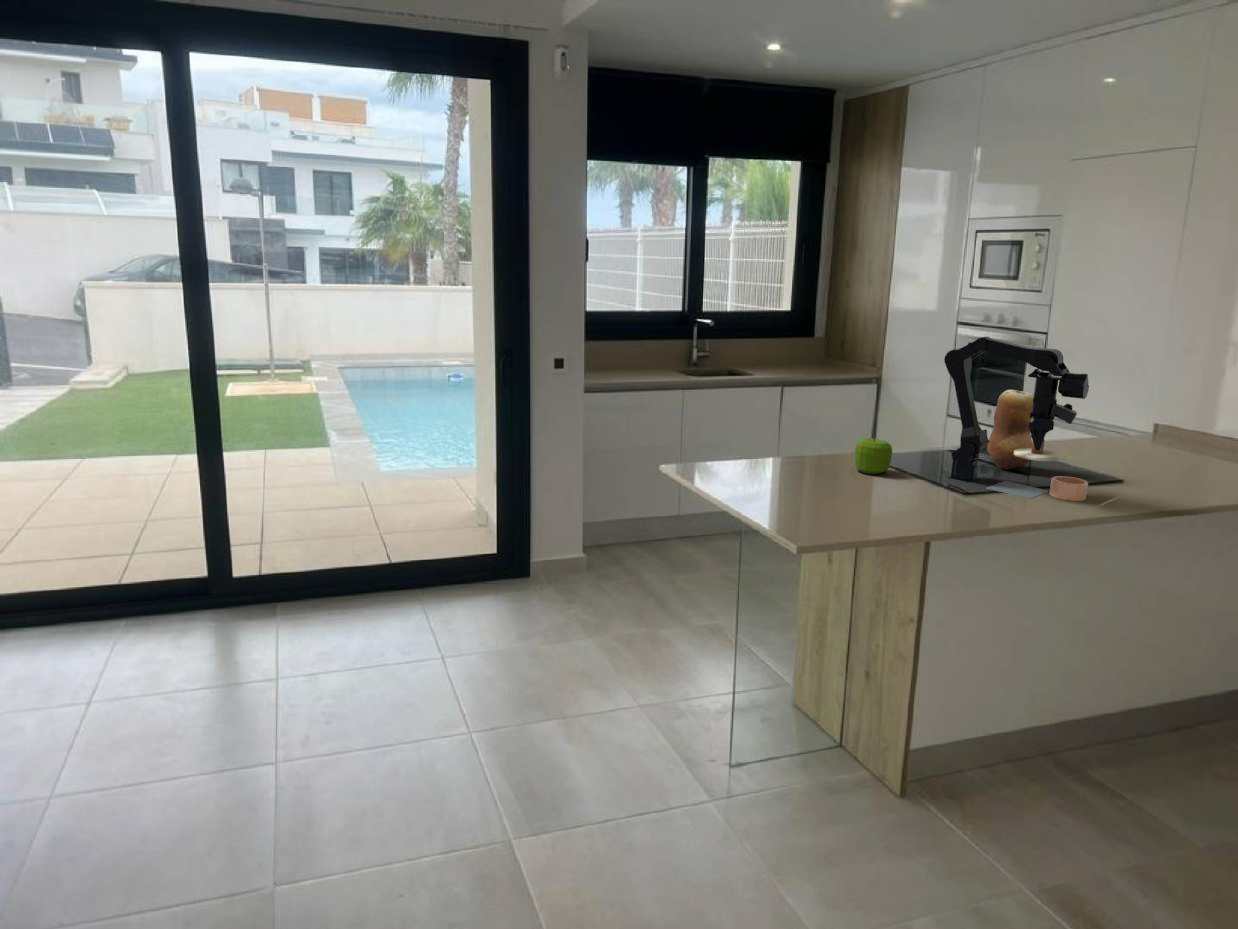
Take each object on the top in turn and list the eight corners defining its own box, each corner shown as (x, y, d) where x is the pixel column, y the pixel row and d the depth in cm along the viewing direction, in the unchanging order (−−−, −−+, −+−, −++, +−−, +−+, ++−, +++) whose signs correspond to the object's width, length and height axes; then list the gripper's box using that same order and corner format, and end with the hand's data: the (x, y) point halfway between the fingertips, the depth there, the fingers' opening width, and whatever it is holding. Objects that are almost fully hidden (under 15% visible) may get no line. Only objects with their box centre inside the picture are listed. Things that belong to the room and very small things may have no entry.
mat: (985, 489, 256) (985, 488, 256) (1004, 482, 265) (1005, 481, 265) (1030, 499, 247) (1030, 498, 247) (1049, 492, 256) (1049, 490, 256)
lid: (1006, 455, 252) (1008, 438, 251) (1024, 449, 260) (1026, 433, 259) (1049, 463, 243) (1051, 445, 242) (1066, 457, 251) (1069, 440, 250)
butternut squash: (1036, 475, 275) (1048, 395, 269) (993, 473, 275) (1004, 393, 269) (1018, 464, 288) (1029, 388, 282) (976, 462, 289) (987, 386, 282)
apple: (897, 475, 269) (901, 440, 266) (866, 477, 265) (870, 441, 262) (875, 466, 279) (879, 432, 276) (845, 468, 275) (849, 433, 273)
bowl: (1044, 496, 251) (1047, 479, 250) (1057, 491, 257) (1059, 474, 256) (1077, 503, 245) (1080, 486, 243) (1089, 498, 251) (1092, 481, 249)
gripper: (1078, 401, 236) (1069, 459, 240) (1076, 392, 252) (1068, 446, 256) (1032, 398, 241) (1024, 454, 244) (1033, 389, 257) (1026, 441, 261)
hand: (1037, 449), depth 251 cm, fingers closed on lid, 3 cm apart
